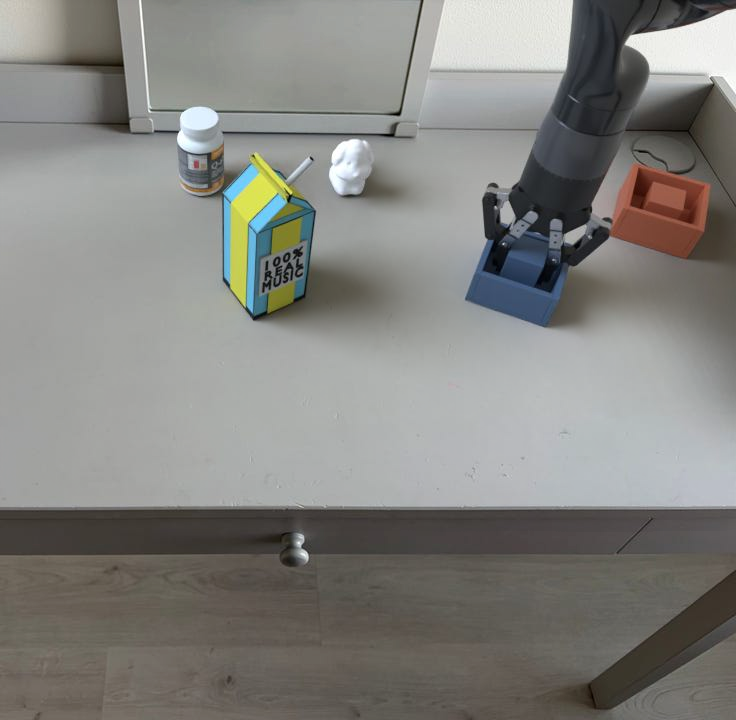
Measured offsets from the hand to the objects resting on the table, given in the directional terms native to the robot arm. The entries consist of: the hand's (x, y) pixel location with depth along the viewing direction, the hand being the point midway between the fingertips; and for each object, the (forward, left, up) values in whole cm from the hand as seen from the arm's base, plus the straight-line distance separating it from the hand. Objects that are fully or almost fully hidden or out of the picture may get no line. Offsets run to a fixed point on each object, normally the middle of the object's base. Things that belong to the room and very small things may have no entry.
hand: (519, 273), depth 90 cm
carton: (+26, +13, -2) cm, 29 cm away
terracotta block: (-14, -19, -2) cm, 23 cm away
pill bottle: (+41, 0, -2) cm, 41 cm away
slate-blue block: (0, 0, 0) cm, 0 cm away
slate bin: (0, 0, -2) cm, 2 cm away
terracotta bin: (-14, -19, -2) cm, 23 cm away
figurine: (+24, -8, -2) cm, 25 cm away
